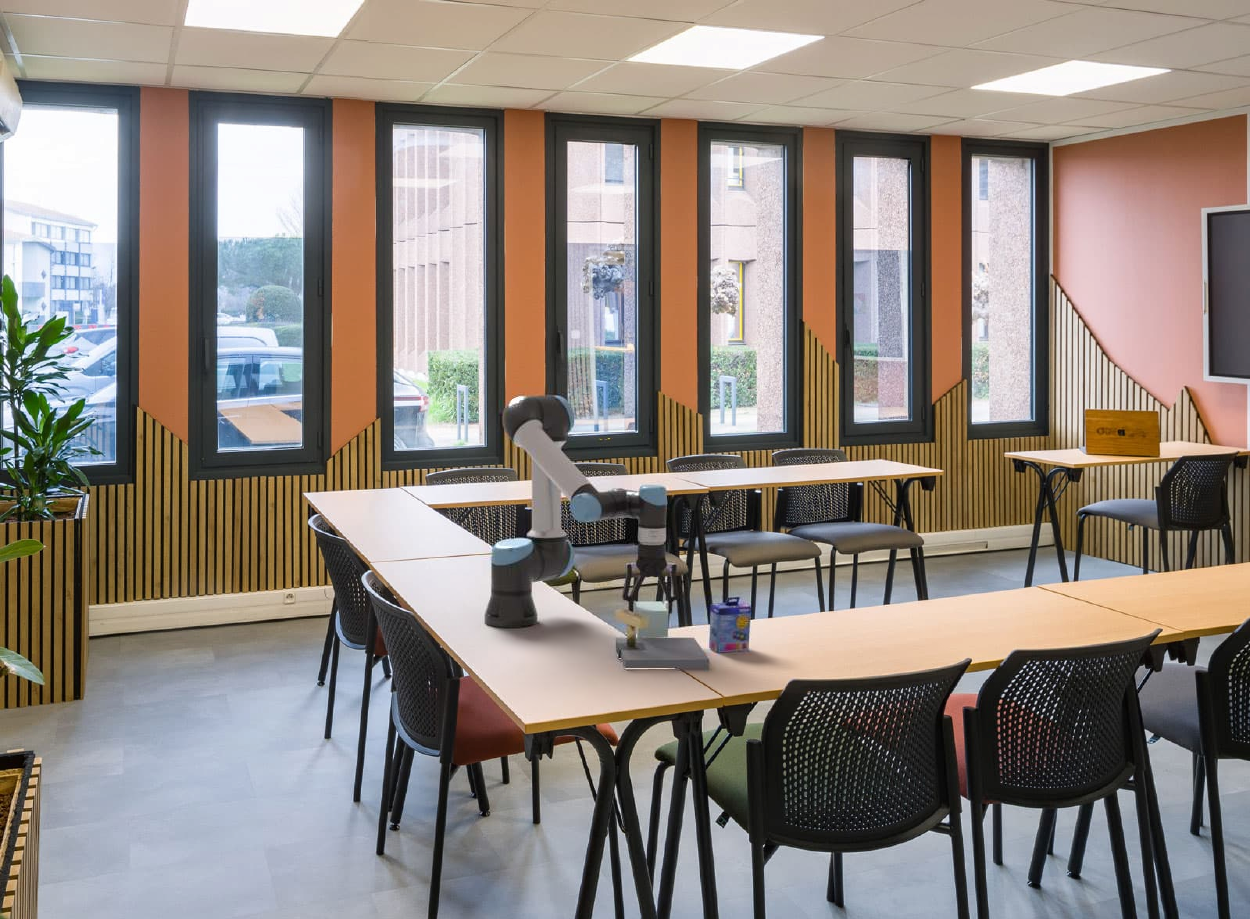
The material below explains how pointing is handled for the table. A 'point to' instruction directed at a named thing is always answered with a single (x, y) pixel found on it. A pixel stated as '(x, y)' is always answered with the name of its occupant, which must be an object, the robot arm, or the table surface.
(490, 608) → the robot arm
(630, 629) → the wooden t-shaped block
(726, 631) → the ink cartridge box
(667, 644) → the panel
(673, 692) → the table surface
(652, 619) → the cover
